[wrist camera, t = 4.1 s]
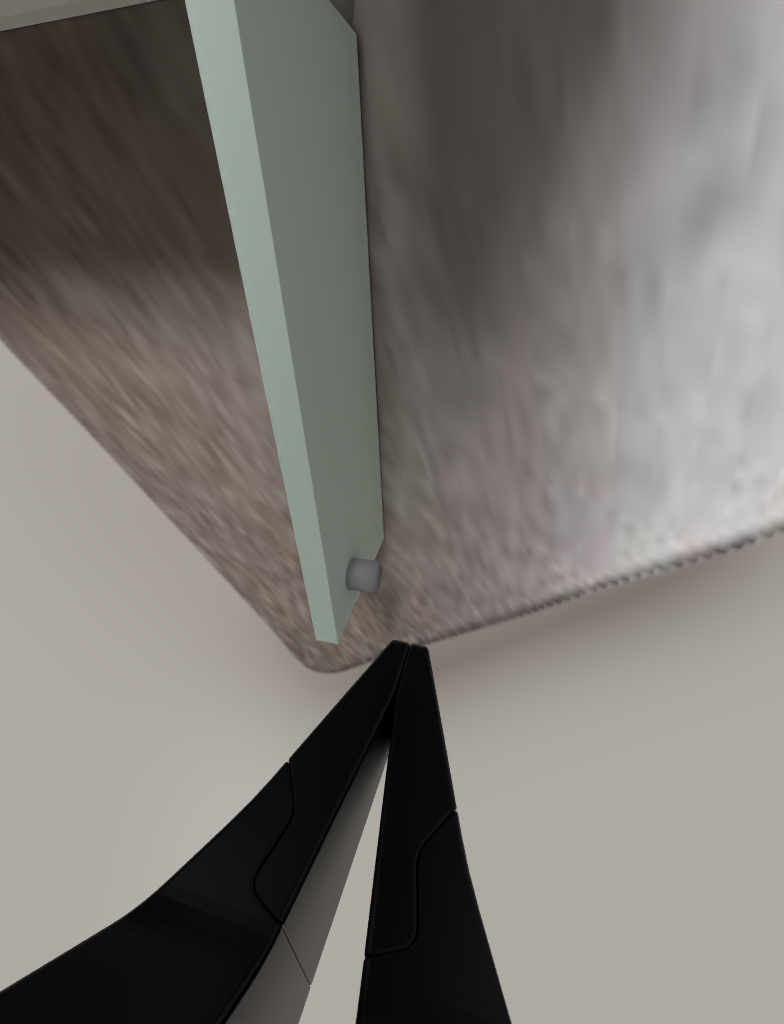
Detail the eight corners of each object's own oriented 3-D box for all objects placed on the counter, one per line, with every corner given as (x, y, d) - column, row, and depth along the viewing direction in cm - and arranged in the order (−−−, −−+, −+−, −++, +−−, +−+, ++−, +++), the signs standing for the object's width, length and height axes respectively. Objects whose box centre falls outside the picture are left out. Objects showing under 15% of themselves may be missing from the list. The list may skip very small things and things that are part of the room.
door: (318, -16, 12) (127, -256, 6) (393, -29, 12) (262, -307, 6) (365, 536, 24) (314, 639, 18) (404, 541, 23) (365, 649, 17)
